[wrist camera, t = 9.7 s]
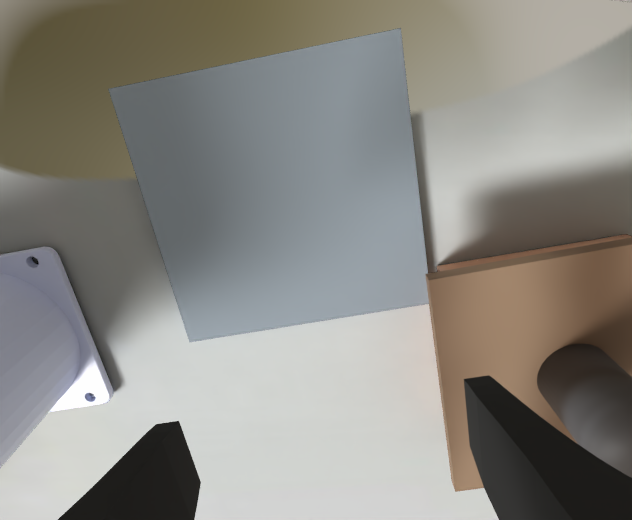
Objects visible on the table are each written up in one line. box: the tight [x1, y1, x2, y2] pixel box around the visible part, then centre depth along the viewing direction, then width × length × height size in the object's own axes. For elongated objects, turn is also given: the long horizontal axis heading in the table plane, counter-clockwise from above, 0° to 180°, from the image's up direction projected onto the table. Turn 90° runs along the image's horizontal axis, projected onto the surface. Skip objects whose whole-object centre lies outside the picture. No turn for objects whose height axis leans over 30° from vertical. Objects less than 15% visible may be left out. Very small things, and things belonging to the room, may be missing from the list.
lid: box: [425, 237, 632, 492], centre depth 16 cm, size 10×10×5 cm
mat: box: [108, 28, 429, 342], centre depth 19 cm, size 11×11×1 cm
